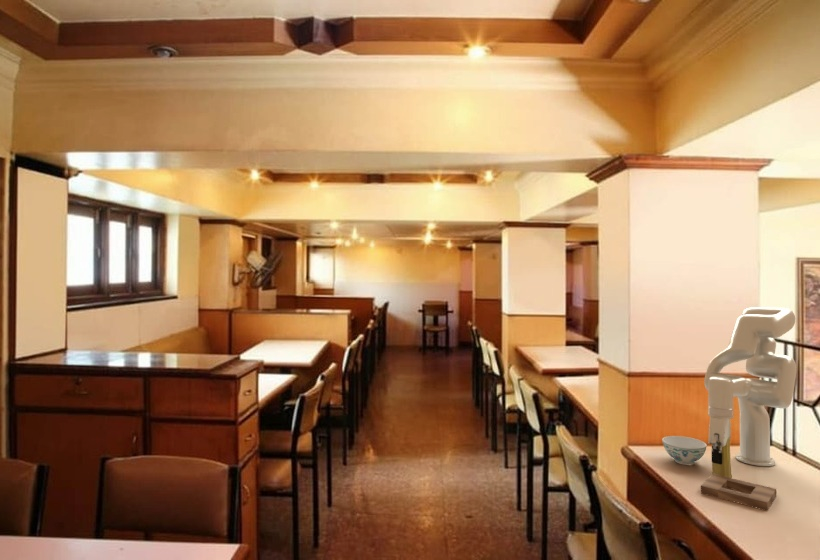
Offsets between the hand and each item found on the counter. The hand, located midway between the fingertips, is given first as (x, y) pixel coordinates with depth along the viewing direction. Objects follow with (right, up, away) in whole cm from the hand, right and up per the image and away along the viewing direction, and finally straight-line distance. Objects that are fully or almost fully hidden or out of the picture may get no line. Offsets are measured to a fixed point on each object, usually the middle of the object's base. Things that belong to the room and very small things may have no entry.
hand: (720, 460), depth 175 cm
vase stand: (-4, -6, -15) cm, 17 cm away
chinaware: (-5, -6, +14) cm, 16 cm away
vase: (+1, -6, 0) cm, 6 cm away
